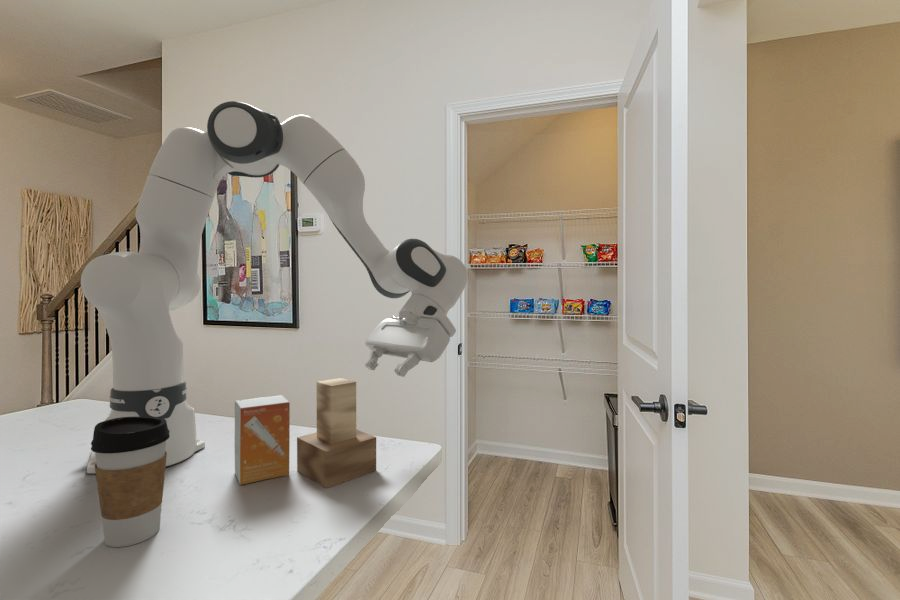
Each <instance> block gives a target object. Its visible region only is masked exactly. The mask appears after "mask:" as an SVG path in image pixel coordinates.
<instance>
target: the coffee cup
mask: <svg viewBox="0 0 900 600" xmlns="http://www.w3.org/2000/svg"><path fill="white" fill-rule="evenodd" d="M169 433H170V431H169V430H168V427H167V422H166V420H165V419H162V418H156V417H120V418H114V419H110V420H106V421H105V420H103V421H100V422H98V423H97V424H96V425H94V428H93V435H92V439H91V442H90V445H91V447H90V451H91V452H92V451H93V452H95V455H96V464H95V473H94V474H95V478H96V486H97V493H98V501H99V507H100V515H101V518H102V519H101V520H102V529H103V531H102V532H103V537H104V542H105V545H106V546H107V547H111V548H125V547H129V546H133V545H137V544H140V543H142V542H145V541H146V540H148V539H150V538H153V537H154V536H155V535H157V534H158V532H159V530H160V528H161V518H162V517H161V515H162V503H163V495H164V486H165V475H166V467H167V466H166V457H167V452H166V451H165V448H166V440H167V439H168V438H169V437H170V435H169Z"/></svg>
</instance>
